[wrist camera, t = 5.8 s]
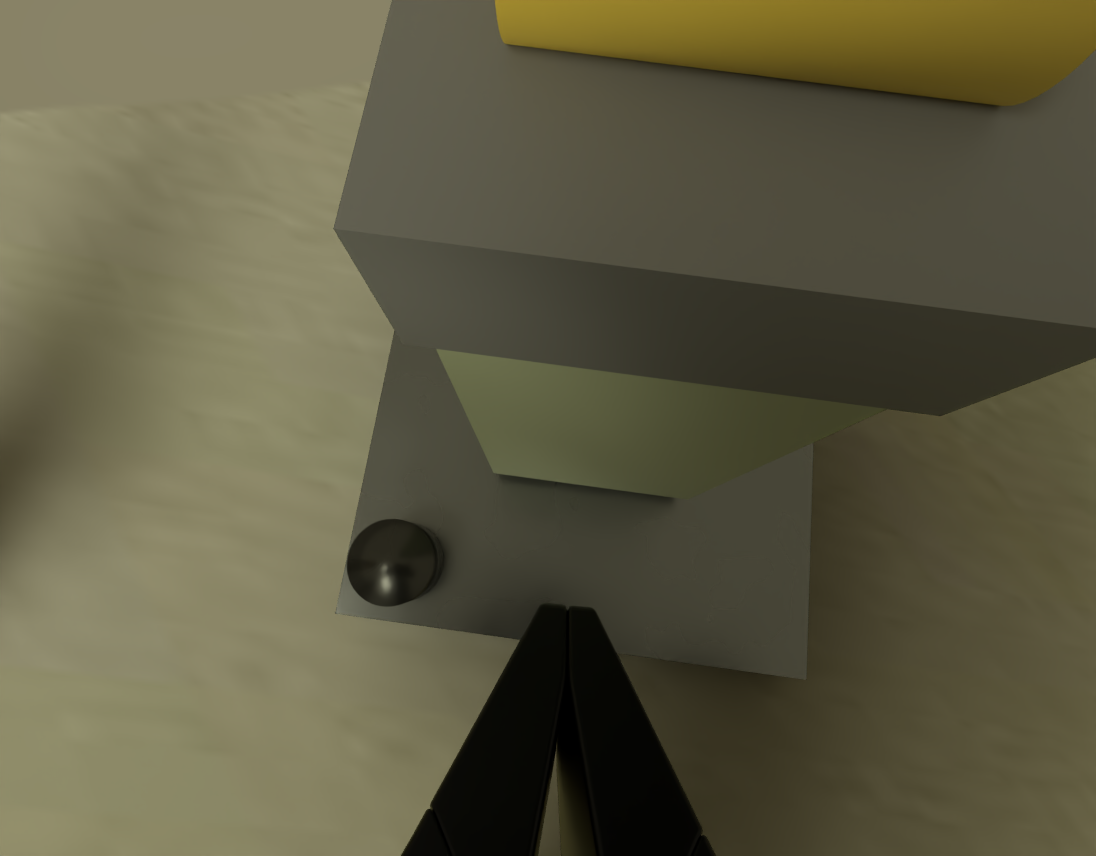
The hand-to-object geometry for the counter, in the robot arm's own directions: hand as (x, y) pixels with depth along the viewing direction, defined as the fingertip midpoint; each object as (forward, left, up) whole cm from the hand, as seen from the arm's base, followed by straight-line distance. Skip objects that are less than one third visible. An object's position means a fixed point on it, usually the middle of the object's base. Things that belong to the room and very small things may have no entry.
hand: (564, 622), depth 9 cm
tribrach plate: (+4, -2, -7) cm, 9 cm away
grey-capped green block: (+4, -2, -5) cm, 7 cm away
